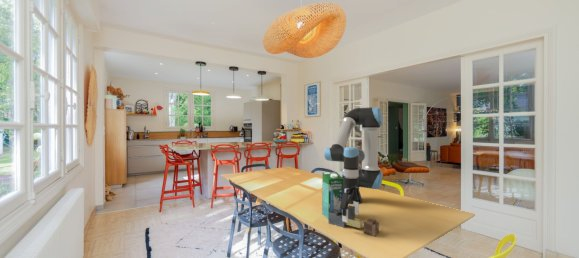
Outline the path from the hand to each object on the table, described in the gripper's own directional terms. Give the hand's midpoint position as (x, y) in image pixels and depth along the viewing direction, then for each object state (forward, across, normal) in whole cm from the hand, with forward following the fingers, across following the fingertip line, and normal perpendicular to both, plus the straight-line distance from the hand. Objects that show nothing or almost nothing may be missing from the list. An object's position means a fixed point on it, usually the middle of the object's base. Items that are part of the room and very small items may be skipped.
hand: (350, 217), depth 124 cm
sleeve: (+5, 0, -7) cm, 8 cm away
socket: (+5, 0, +11) cm, 12 cm away
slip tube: (+4, 0, -3) cm, 4 cm away
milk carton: (+5, -7, -14) cm, 17 cm away
